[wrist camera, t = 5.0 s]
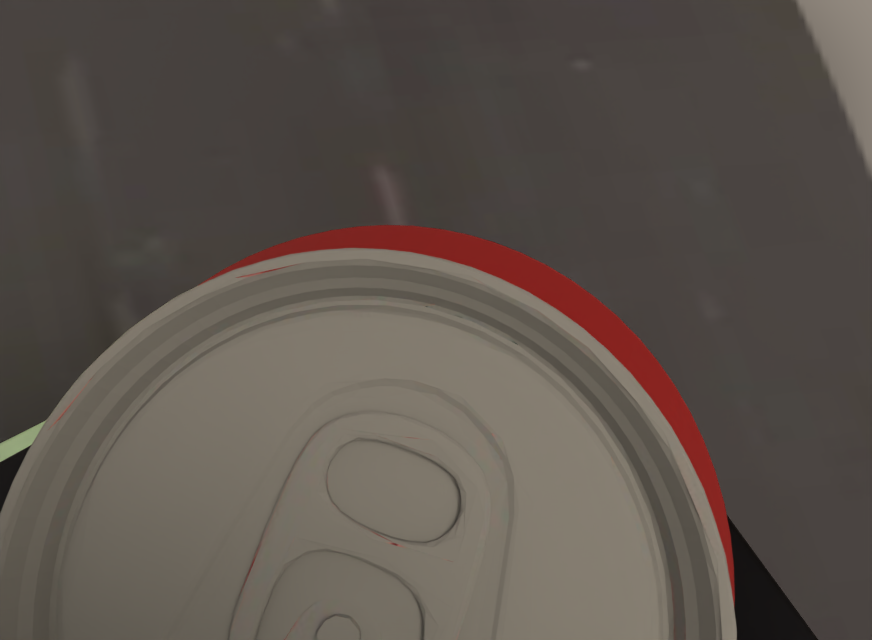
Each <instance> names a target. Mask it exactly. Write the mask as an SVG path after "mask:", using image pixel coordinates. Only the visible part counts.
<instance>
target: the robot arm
mask: <svg viewBox="0 0 872 640" xmlns="http://www.w3.org/2000/svg"><path fill="white" fill-rule="evenodd" d="M30 447H31V445H30V446H28V447H27V448H25V449H23V450H21V451H19V452H17V453H16V454H14V455H12V456H10V457H8V458H7V459H5V460H3V461H1V462H0V513H1V510H2V508H3V505H4V502H5V500H6V497H7V495H8V492H9V490H10V487H11V485H12V482H13V480H14V478H15V476H16V474H17V472H18V470H19V468H20V466H21V464H22V462H23V460H24V458H25V456H26V454H27V452H28V450H29V448H30ZM726 515H727V514H726ZM727 520H728V525H729V530H730V536H731V545H732V554H733V564H734V592H735V605H734V611H735V619H736V627H737V640H818V639H817V638H816V636H815V635H814V633H813V632H812V631H811V629H810V628H809V627H808V625H807V624H806V623H805V621H804V620H803V618H802V617H801V616H800V614H799V613H798V612H797V610H796V609H795V607H794V606H793V605H792V603H791V602H790V601H789V599H788V598H787V597H786V595H785V594H784V592H783V591H782V590H781V588H780V587H779V586H778V584H777V583H776V581H775V580H774V579H773V577H772V576H771V575H770V573H769V572H768V571H767V569H766V568H765V566H764V565H763V564H762V562H761V561H760V560H759V558H758V557H757V555H756V554H755V553H754V551H753V550H752V549H751V547H750V546H749V544H748V543H747V542H746V540H745V539H744V538H743V536H742V535H741V534H740V532H739V531H738V529H737V528H736V527H735V525H734V524H733V523H732V521H731V520H730V518H729V517H728V516H727Z"/></svg>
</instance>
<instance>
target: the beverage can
mask: <svg viewBox="0 0 872 640" xmlns="http://www.w3.org/2000/svg"><path fill="white" fill-rule="evenodd" d="M734 605H735V592H734V564H733V554H732V545H731V536H730V530H729V525H728V520H727V515H726V510H725V504H724V501H723V497H722V494H721V490H720V487H719V483H718V479H717V476H716V472H715V469H714V467H713V464H712V461H711V459H710V456H709V453H708V451H707V448H706V445H705V443H704V440H703V438H702V436H701V434H700V432H699V430H698V427H697V425H696V423H695V421H694V419H693V417H692V415H691V413H690V411H689V409H688V407H687V406H686V404H685V402H684V401H683V399H682V397H681V395H680V394H679V392H678V390H677V388H676V387H675V385H674V384H673V382H672V381H671V379H670V378H669V376H668V375H667V374H666V372H665V371H664V369H663V368H662V366H661V365H660V364H659V362H658V361H657V360H656V358H655V357H654V356H653V355H652V353H651V352H650V351H649V350H648V349H647V347H646V346H645V345H644V344H643V343H642V341H641V340H640V339H639V338H638V337H637V336H636V335H635V334H634V333H633V332H632V331H631V330H630V329H629V328H628V327H627V326H626V325H625V324H624V323H623V322H622V321H621V319H620V318H619V317H618V316H616V315H615V314H614V313H613V312H612V311H611V310H609V309H608V308H607V307H606V306H605V305H604V304H602V303H601V302H600V301H599V300H598V299H597V298H595V297H594V296H593V295H591V294H590V293H589V292H587V291H586V290H584V289H583V288H582V287H580V286H579V285H578V284H576V283H575V282H573V281H572V280H570V279H569V278H567V277H565V276H564V275H562V274H560V273H559V272H557V271H555V270H554V269H552V268H550V267H549V266H547V265H545V264H543V263H541V262H539V261H537V260H535V259H533V258H531V257H529V256H527V255H525V254H523V253H521V252H518V251H515V250H513V249H510V248H508V247H505V246H502V245H500V244H497V243H495V242H491V241H488V240H485V239H481V238H478V237H474V236H471V235H467V234H462V233H457V232H452V231H448V230H443V229H436V228H427V227H418V226H400V225H378V226H360V227H352V228H344V229H337V230H330V231H326V232H322V233H317V234H313V235H309V236H304V237H300V238H297V239H294V240H291V241H288V242H285V243H282V244H278V245H275V246H273V247H270V248H268V249H265V250H263V251H261V252H258V253H256V254H253V255H251V256H249V257H247V258H245V259H243V260H241V261H239V262H237V263H235V264H233V265H231V266H229V267H227V268H225V269H223V270H222V271H220V272H219V273H217V274H215V275H214V276H212V277H211V278H209V279H207V280H206V281H204V282H203V283H201V284H199V285H198V286H197V287H195V288H193V289H191V290H189V291H187V292H185V293H183V294H181V295H179V296H177V297H175V298H174V299H172V300H171V301H169V302H168V303H166V304H165V305H163V306H162V307H160V308H159V309H157V310H156V311H154V312H153V313H151V314H150V315H148V316H147V317H146V318H144V319H143V320H141V321H140V322H139V323H137V324H136V325H134V326H133V327H132V328H130V329H129V330H127V331H126V332H125V333H124V334H123V335H122V336H121V337H120V338H119V339H118V340H116V341H115V342H114V343H113V344H112V345H111V346H110V347H109V348H108V349H107V350H106V351H105V352H104V353H103V354H101V355H100V356H99V357H98V358H97V359H96V360H95V361H94V362H93V363H92V364H91V365H90V366H89V367H88V368H87V369H86V370H85V371H84V372H83V373H82V374H81V376H80V377H79V378H78V379H77V381H76V382H75V383H74V384H73V386H72V387H71V388H70V389H69V390H68V392H67V393H66V394H65V395H64V397H63V398H62V399H61V401H60V402H59V403H58V405H57V406H56V408H55V409H54V411H53V412H52V413H51V415H50V416H49V418H48V419H47V420H46V422H45V423H44V425H43V426H42V428H41V430H40V431H39V433H38V435H37V436H36V438H35V440H34V442H33V443H32V445H31V447H30V448H29V450H28V452H27V454H26V456H25V458H24V460H23V462H22V464H21V466H20V468H19V470H18V472H17V474H16V476H15V478H14V480H13V482H12V485H11V487H10V490H9V492H8V495H7V497H6V500H5V502H4V505H3V508H2V510H1V513H0V640H737V627H736V619H735V611H734Z"/></svg>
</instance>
